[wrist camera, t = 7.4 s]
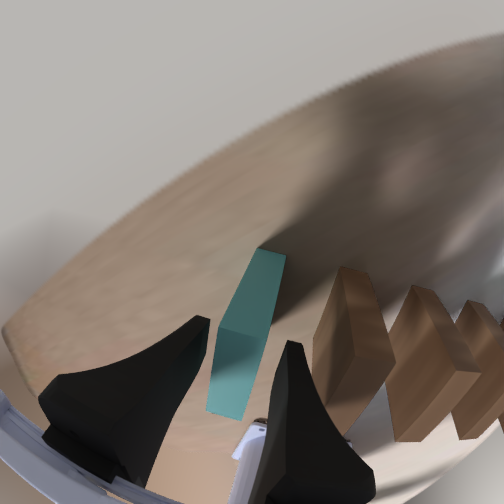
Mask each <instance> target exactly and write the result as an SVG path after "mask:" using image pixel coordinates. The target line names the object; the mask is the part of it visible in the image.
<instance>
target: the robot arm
mask: <svg viewBox="0 0 504 504" xmlns="http://www.w3.org/2000/svg"><path fill="white" fill-rule="evenodd" d="M209 326H210V319H208V318H205V317H202V316H198V315H196V316H194V317H193V318H192V319H190V320H189V321H188V322H186V323H185V324H184V325H182V326H181V327H180V328H178V329H177V330H176V331H174V332H173V333H171V334H170V335H168V336H167V337H165V338H164V339H162V340H161V341H159V342H157V343H155V344H154V345H152V346H150V347H149V348H147V349H145V350H143V351H141V352H139V353H137V354H135V355H133V356H131V357H128V358H126V359H123V360H121V361H118V362H115V363H113V364H110V365H107V366H103V367H100V368H96V369H92V370H87V371H82V372H76V373H68V374H60V375H58V376H57V377H55V378H54V379H53V380H52V381H51V383H50V384H49V385H48V386H47V387H46V388H45V389H44V391H43V392H42V393H41V394H40V395H39V396H38V401H39V404H40V406H41V408H42V410H43V412H44V413H45V415H46V417H47V419H48V420H49V422H50V424H51V425H50V426H49V427H48V429H47V430H46V431H45V432H44V431H43V430H41V429H40V428H39V427H38V426H37V425H35V424H34V423H33V422H31V421H30V420H29V419H27V418H26V417H25V416H24V415H23V414H22V413H20V412H19V411H18V410H17V409H16V408H14V407H13V406H12V405H11V402H10V401H9V399H8V397H7V396H6V395H5V393H4V392H3V391H2V390H1V389H0V458H1V459H2V460H3V461H4V462H5V463H6V464H7V465H8V466H10V467H11V468H12V469H13V470H14V471H15V472H16V473H17V474H18V475H20V476H21V477H22V478H23V479H24V480H26V481H27V482H28V483H29V484H30V485H32V486H33V487H34V488H35V489H37V490H38V491H39V492H41V493H42V494H43V495H45V496H46V497H47V498H49V499H50V500H51V501H53V502H55V503H56V504H127V503H124V502H122V501H120V500H117V499H115V498H113V497H110V496H108V495H107V493H106V491H105V490H107V491H109V492H111V493H113V494H115V495H117V496H119V497H121V498H123V499H125V500H127V501H129V502H132V503H134V504H183V503H180V502H177V501H174V500H172V499H169V498H166V497H164V496H161V495H158V494H156V493H153V492H151V491H149V490H146V489H145V486H146V484H147V481H148V478H149V475H150V473H151V470H152V467H153V465H154V462H155V459H156V457H157V454H158V452H159V449H160V447H161V444H162V442H163V439H164V437H165V435H166V432H167V430H168V428H169V425H170V423H171V421H172V418H173V416H174V414H175V412H176V410H177V408H178V407H179V405H180V403H181V402H182V400H183V398H184V396H185V395H186V393H187V391H188V389H189V388H190V386H191V384H192V382H193V381H194V379H195V377H196V375H197V373H198V371H199V369H200V367H201V364H202V362H203V359H204V357H205V354H206V349H207V341H208V334H209ZM232 457H233V458H234V459H236V460H240V461H239V465H238V468H237V472H236V475H235V479H234V483H233V486H232V489H231V493H230V496H229V499H228V503H227V504H366V503H368V502H369V501H371V500H372V499H373V498H374V497H375V495H376V485H375V478H374V473H373V470H372V469H371V468H370V467H369V466H368V465H367V464H366V463H365V462H364V461H363V460H362V459H361V458H360V457H359V456H358V455H357V454H356V453H355V451H354V450H353V449H352V443H351V442H346V440H345V439H344V437H343V436H342V435H341V433H340V432H339V431H338V429H337V428H336V426H335V424H334V423H333V421H332V420H331V418H330V416H329V414H328V412H327V411H326V409H325V407H324V405H323V403H322V401H321V399H320V396H319V394H318V392H317V389H316V387H315V384H314V382H313V379H312V376H311V373H310V370H309V367H308V364H307V360H306V357H305V352H304V348H303V345H302V343H298V342H294V341H289V340H287V342H286V345H285V348H284V351H283V353H282V356H281V359H280V362H279V364H278V367H277V370H276V373H275V377H274V381H273V385H272V390H271V395H270V404H269V412H268V421H267V425H266V424H263V423H259V422H253V423H251V425H250V426H249V428H248V430H247V431H246V433H245V435H244V436H243V438H242V440H241V441H240V443H239V444H238V446H237V448H236V449H235V451H234V452H233V454H232ZM97 485H98V486H97ZM99 486H100V487H101V488H100V487H99ZM102 488H103V489H105V490H103V489H102Z"/></svg>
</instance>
